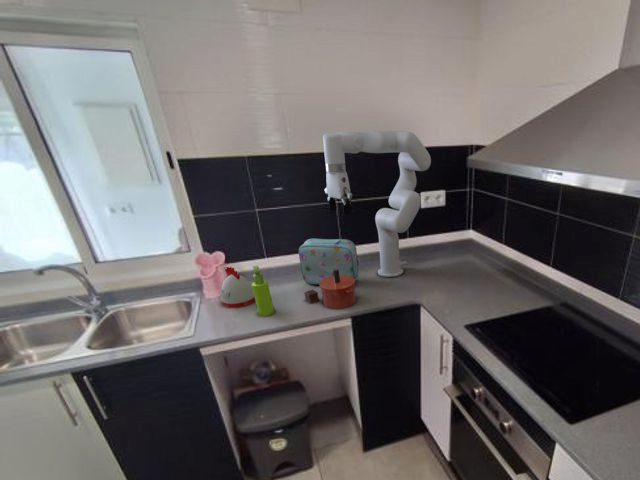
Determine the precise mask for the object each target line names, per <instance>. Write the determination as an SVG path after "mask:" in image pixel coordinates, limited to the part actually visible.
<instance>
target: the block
mask: <svg viewBox="0 0 640 480" xmlns="http://www.w3.org/2000/svg"><path fill="white" fill-rule="evenodd" d="M304 298H305V301H306V302H307V303H309V304H313V303H317V302H319V299H320V298H319V294H318V291H316V290H314V289H310V290H307V291H304Z"/></svg>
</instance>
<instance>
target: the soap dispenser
mask: <svg viewBox="0 0 640 480" xmlns="http://www.w3.org/2000/svg"><path fill="white" fill-rule="evenodd" d="M252 268H253V271H254V274H253V275H252V277H253V281H254V282H252V288H253V292H254V296H255V304H256V308H257V312H258V315H259V316H260V317H268V316H271V315H273V314H274V313H275V309H274V306H273V305H274V304H273V300H272V299H273V298H272V295H271V290H270V286H269V282H268V281H267V280H264V275H263V273H261V270H260V267H259V265H253V266H252Z"/></svg>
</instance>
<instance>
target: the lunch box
mask: <svg viewBox="0 0 640 480" xmlns="http://www.w3.org/2000/svg"><path fill="white" fill-rule="evenodd" d="M298 258H299V263H300V269H301V275H302V276H301V277H302V279H303V281H304V282H305V283H307V284H309V285H319V283H320V281H321V280H323V279H325V278H327V277H330V276H333V269H339V275H345V276H350V277H352V278H354V279H355V282H356V281H357V278H358V275H359V265H360V264H361V261H360V258H359V256H358V253H357V246H356V244H355V243H354V242H353V241H352V240H350V239H346V238H345V239H344V238H337V239H329V238H327V239H326V238H309V239H306V240H305V241H304V243H303V244H302V245H300V246H299V247H298Z"/></svg>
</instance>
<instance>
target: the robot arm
mask: <svg viewBox="0 0 640 480" xmlns="http://www.w3.org/2000/svg"><path fill="white" fill-rule="evenodd" d="M322 143H323V144H322V145H323V154H324V162H325V173H326V174H325V175H326V176H325V177H326V179H325V181H326V187H325V188H324V193H325V197H326V198H327V202H328V210H329V212H333V211H337V200H340V201H341V202H342V213H343V215H344V216H347V215H350V214H351V203H352V201H353V200H352V199H353V193H352V192H351V187H350V181H349V176H348V172H347V171H346V169H347V168H346V158H345V154H359V153H368V154H387V153H388V154H390V153H399V154H398V157H397V159H398V160H397V162H398V167H399V178H398V180H397V182H396V184H395V186H394V187H393V190H392V191H391V193H390V195H389V197H388V204H389V207H391V208H388V207H382V208H380V209H379V210H378V211H377V212H376V214H375V217H374V220H375V226H376V229H377V234H378V235H377V236H378V250H379V263H380V268H378V269H377V274H378V275H379V276H381V277H384V278H395V277H399V276H401V275H402V274H403V273H404V268H402V267H404V266H407V265H408V263H407V261H406V260H404V261H401V260H400V238H399V234H403V233H405V232H406V231H408V230H409V229H410V226H411V225H412V223H413V221H414V219H415V218H416V216H417V214H418V212H419V210H420V208H421V205H422V204H421V201H422V200H421V199H422V198H421V196H420V194H419V193H418V192H416V191H415V189H416V187H417V183H418V182H417V181H418V179H417V176H416V171H417V172H425V171H427V170H429V168H430V166H431V163H432V158H431V155H430V153H429V151H428V150H427V149H426V147H425V145H424V144H423V143H422V141H421V140H420V139H419V137H418V136H417V134H415V133H414V132H412V131H403V130H368V131H367V130H366V131H336V132H335V133H334V132H333V133H332V132H331V133H330V132H328V133H324V134H323V135H322ZM336 199H337V200H336ZM398 233H399V234H398Z"/></svg>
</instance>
